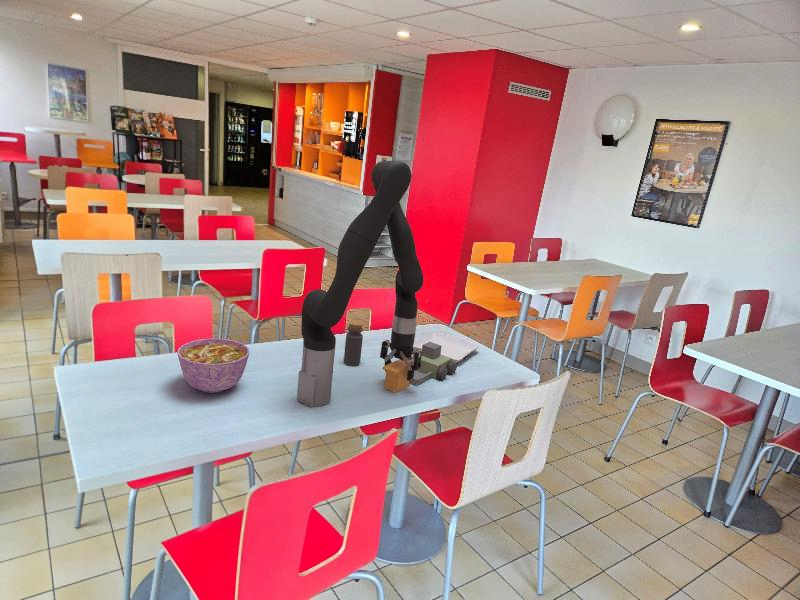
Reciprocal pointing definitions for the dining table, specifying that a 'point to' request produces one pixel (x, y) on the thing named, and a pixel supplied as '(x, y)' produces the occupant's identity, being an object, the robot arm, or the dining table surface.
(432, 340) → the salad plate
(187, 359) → the bowl of food
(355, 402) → the dining table surface
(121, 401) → the dining table surface
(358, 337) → the bottle
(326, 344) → the robot arm
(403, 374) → the orange box
